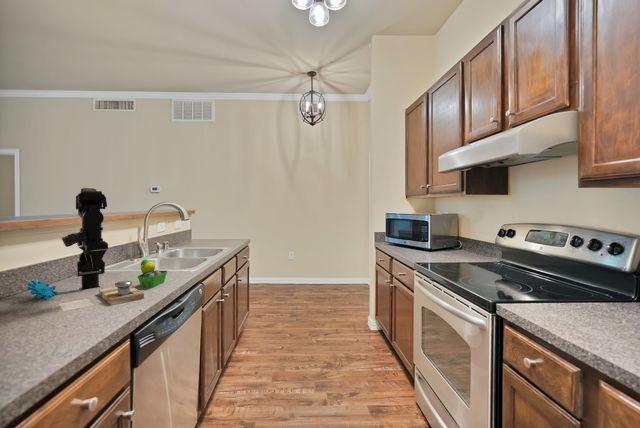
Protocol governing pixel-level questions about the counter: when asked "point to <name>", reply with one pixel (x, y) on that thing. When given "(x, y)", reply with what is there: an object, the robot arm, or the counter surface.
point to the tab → (75, 304)
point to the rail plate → (113, 298)
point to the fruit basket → (150, 275)
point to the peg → (123, 287)
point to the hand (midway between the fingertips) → (92, 266)
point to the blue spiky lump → (41, 290)
